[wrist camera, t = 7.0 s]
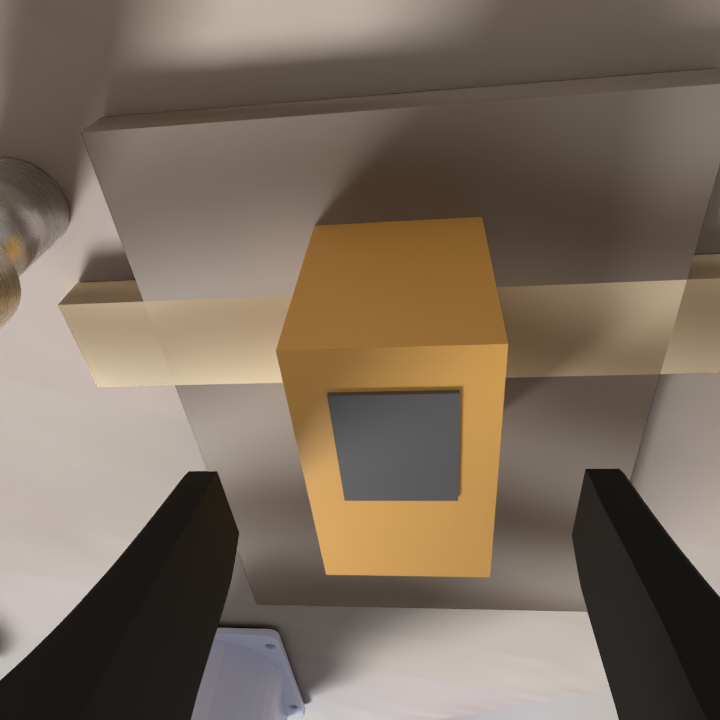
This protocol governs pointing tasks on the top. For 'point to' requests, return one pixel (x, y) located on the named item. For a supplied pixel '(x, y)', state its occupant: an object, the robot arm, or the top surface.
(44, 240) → the stepped metal cylinder
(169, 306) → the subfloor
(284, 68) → the top surface
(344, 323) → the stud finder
